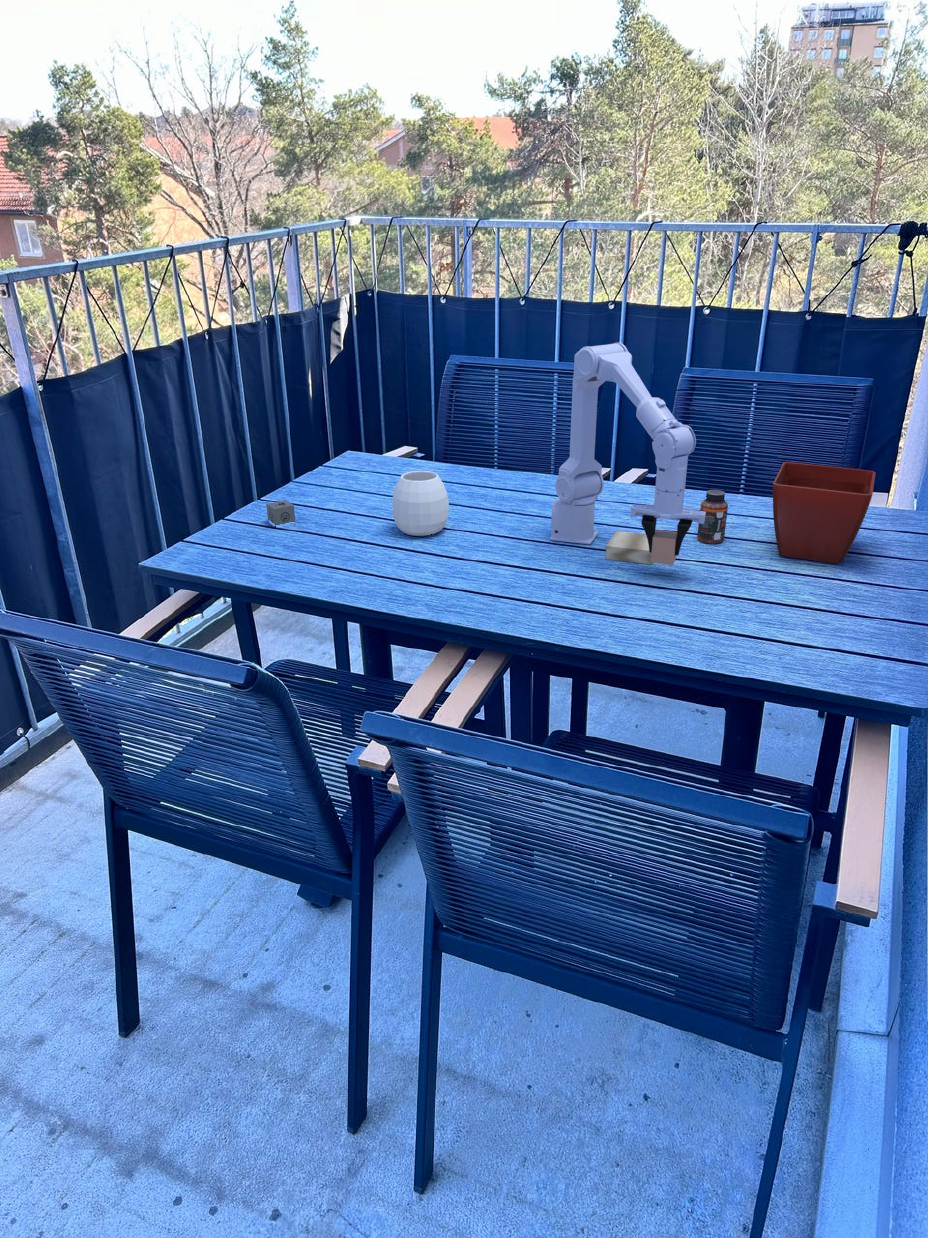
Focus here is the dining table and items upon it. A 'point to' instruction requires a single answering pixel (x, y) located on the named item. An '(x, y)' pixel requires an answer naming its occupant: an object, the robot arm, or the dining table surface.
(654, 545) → the terracotta block
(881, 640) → the dining table surface
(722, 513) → the supplement bottle
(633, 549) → the birch base
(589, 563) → the dining table surface
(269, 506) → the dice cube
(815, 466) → the plant pot
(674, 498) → the robot arm
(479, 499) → the dining table surface
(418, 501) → the white vase
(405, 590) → the dining table surface
